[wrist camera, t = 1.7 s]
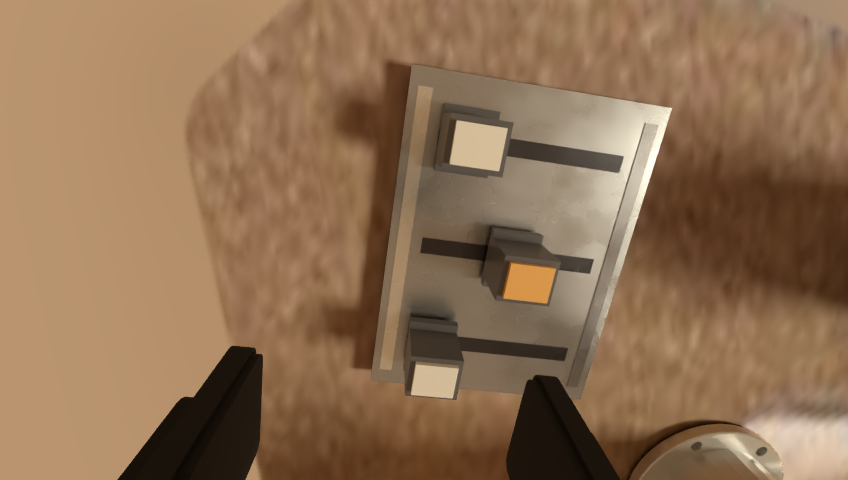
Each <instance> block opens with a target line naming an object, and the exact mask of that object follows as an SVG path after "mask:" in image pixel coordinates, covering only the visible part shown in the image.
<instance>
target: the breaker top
mask: <svg viewBox="0 0 848 480" xmlns="http://www.w3.org/2000/svg"><path fill="white" fill-rule="evenodd" d="M457 331H458V324H457V322H454V321H445V320H436V319H427V318H417V317H411V319H410V325H409V331H408V338H407V344H406V350H405V357H404V363H403V371H404V376H405V395H406V396H417V397H429V398H440V399H452V400H456V399H457V394H458V389H459V384H460V379H461V375H462V370H463V365H464V359H463V355H462V351H461V347H460V343H459V339H458V336H457Z"/></svg>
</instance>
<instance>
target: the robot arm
mask: <svg viewBox="0 0 848 480" xmlns="http://www.w3.org/2000/svg"><path fill="white" fill-rule="evenodd" d="M262 369H263V356H262V354H256V349H255V348H251V347H240V346H231V347H230V348H229V349H228V351H227V352H226V353H225V355H224V356H223V358H222V359H221V361H220V362H219V363H218V364H217V366H216V367H215V369H214V370H213V371H212V373H211V374H210V376H209V377H208V379H207V380H206V381H205V383H204V384H203V385H202V387H201V388H200V389H199V391H198V392H197V393H196V395H195V396H194V397H184V398H181V399H180V400H179V401H178V402H177V403H176V405H175V406H174V407H173V409H172V410H171V411H170V412H169V414H168V415H167V416H166V418H165V419H164V420H163V422H162V423H161V424H160V425H159V427H158V428H157V429H156V431H155V432H154V433H153V434H152V436H151V437H150V439H149V440H148V441H147V442H146V444H145V445H144V446H143V447H142V449H141V450H140V451H139V453H138V454H137V455H136V457H135V458H134V459H133V461H132V462H131V463H130V464H129V466H128V467H127V468H126V469H125V471H124V472H123V473H122V475H121V476H120V477H119V479H118V480H245V479H246V477H247V475H248V472H249V470H250V467H251V465H252V463H253V460H254V458H255V456H256V453H257V450H258V446H259V441H260V422H261V396H262ZM506 465H507V471H508V475H509V478H510V480H620V478H619V477H618V475H617V473H616V472H615V470H614V468H613V467H612V465H611V463H610V462H609V460H608V458H607V457H606V455H605V453H604V452H603V450H602V448H601V447H600V445H599V443H598V442H597V440H596V438H595V437H594V436H593V434H592V433H591V432H590V430H589V429H588V427H587V425H586V424H585V422H584V420H583V419H582V417H581V415H580V414H579V412H578V410H577V409H576V407H575V405H574V404H573V402H572V400H571V399H570V397H569V395H568V394H567V392H566V390H565V389H564V387H563V385H562V384H561V382H560V380H559V379H558V378H557V377H555V376H546V375H535V376H534V377H533V379H532V380H530V379H529V380H528V381H527V382H526V385H525V389H524V393H523V397H522V400H521V404H520V408H519V412H518V416H517V419H516V423H515V427H514V431H513V435H512V438H511V442H510V446H509V450H508V454H507V460H506ZM783 476H784V474H783V466H782V462H781V460H780V458H779V455H778V454H777V452H776V451H775V450H774V449H773V448H772V446H771V445H770V444H768V443H767V442H766V441H765V440H764V439H763V438H761V437H760V436H759V435H758V434H756V433H754V432H753V431H751V430H749V429H747V428H743V427H740V426H736V425H729V424H711V425H702V426H698V427H694V428H690V429H687V430H684V431H682V432H679V433H677V434H675V435H673V436H671V437H669V438H667V439H666V440H664V441H662V442H661V443H659V444H658V445H657V446H655V447H654V448H653V449H651V450H650V451H649V452H648V453H647V454H646V455H645V456H644V457H643V458H642V459H641V460H640V462H639V463H638V465H637V466H636V468H635V469H634V470H633V472H632V474H631V476H630V479H629V480H783Z"/></svg>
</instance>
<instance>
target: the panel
mask: <svg viewBox="0 0 848 480" xmlns="http://www.w3.org/2000/svg"><path fill="white" fill-rule="evenodd" d="M444 103H450V104H456V105H462V106H469V107H475V108H481V109H487V110H493V111H499V112H500V117H499V120H501V121H508V122H514V124H513V129H512V134H511V138H510V143H509V148H508V153H507V158H506V163H505V167H504V172H503V177H495V176H488V178H482V177H475V176H468V175H461V174H454V173H447V172H440V171H435V170H434V166H435V159H436V153H437V147H438V140H439V134H440V127H441V121H442V115H443V108H444ZM671 110H672V108H666V107H661V106H655V105H649V104H643V103H637V102H631V101H625V100H620V99H614V98H608V97H602V96H596V95H590V94H584V93H579V92H573V91H567V90H561V89H555V88H549V87H543V86H538V85H532V84H526V83H520V82H514V81H508V80H503V79H497V78H491V77H485V76H479V75H473V74H467V73H462V72H456V71H450V70H444V69H438V68H432V67H426V66H421V65H415V64H412V66H411V73H410V81H409V88H408V96H407V103H406V111H405V119H404V126H403V134H402V142H401V149H400V157H399V164H398V172H397V180H396V187H395V195H394V203H393V210H392V218H391V226H390V233H389V241H388V248H387V256H386V264H385V271H384V279H383V287H382V294H381V302H380V309H379V317H378V325H377V332H376V340H375V348H374V355H373V363H372V371H371V380H370V381H381V382H393V383H404V384H405V376H404V371H403V363H404V357H405V350H406V344H407V338H408V331H409V325H410V319H411V317H417V318H427V319H436V320H445V321H454V322H457V324H458V331H457V336H458V339H459V343H460V347H461V351H462V355H463V359H464V365H463V370H462V375H461V379H460V384H459V389H470V390H481V391H492V392H503V393H514V394H523V393H524V389H525V385H526V382H527V381H528V380H529V379H530V380H532V379H533V377H534V376H535V375H546V376H555V377H557V378H558V379H559V380H560V382H561V384H562V385H563V387H564V389H565V390H566V392H567V394H568V395H569V397H570V399H581V396H582V393H583V389H584V386H585V383H586V380H587V377H588V374H589V370H590V367H591V364H592V361H593V358H594V355H595V351H596V348H597V345H598V342H599V339H600V335H601V332H602V329H603V326H604V323H605V320H606V316H607V313H608V310H609V307H610V304H611V300H612V297H613V294H614V291H615V288H616V285H617V281H618V278H619V275H620V272H621V269H622V266H623V262H624V259H625V256H626V253H627V250H628V246H629V243H630V240H631V237H632V234H633V231H634V227H635V224H636V221H637V218H638V215H639V211H640V208H641V205H642V202H643V199H644V196H645V192H646V189H647V186H648V183H649V180H650V177H651V173H652V170H653V167H654V164H655V161H656V157H657V154H658V151H659V148H660V145H661V142H662V138H663V135H664V132H665V129H666V126H667V122H668V119H669V116H670V113H671ZM492 227H495V228H502V229H510V230H517V231H525V232H533V233H540V234H541V235H543V236H544V237H543V241H542V245H543V246H544V247H545V248H546V249H547V250H548V251H549V252H550V253H552V254H553V255H554V256H555V257H556V258H557V259H558V260H559V261H560V262H561V264H560V267H559V271H558V275H557V279H556V283H555V286H554V290H553V294H552V298H551V301H550V305H549V307H548V306H539V305H530V304H521V303H513V302H504V301H495V299H494V297H493V295H492V293H491V291H490V289H489V287H485V286H482V284H481V279H482V274H483V269H484V264H485V259H486V254H487V250H488V245H489V240H490V235H491V230H492Z"/></svg>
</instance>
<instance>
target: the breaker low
mask: <svg viewBox="0 0 848 480" xmlns="http://www.w3.org/2000/svg"><path fill="white" fill-rule="evenodd" d="M499 117H500V112H499V111H493V110H487V109H481V108H475V107H469V106H462V105H456V104H450V103H444V108H443V115H442V121H441V127H440V134H439V140H438V147H437V153H436V159H435V166H434V170H435V171H440V172H447V173H454V174H461V175H468V176H475V177H482V178H488V176H495V177H503V172H504V167H505V163H506V158H507V153H508V148H509V143H510V138H511V134H512V129H513V124H514V122H508V121H501V120H499Z"/></svg>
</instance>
